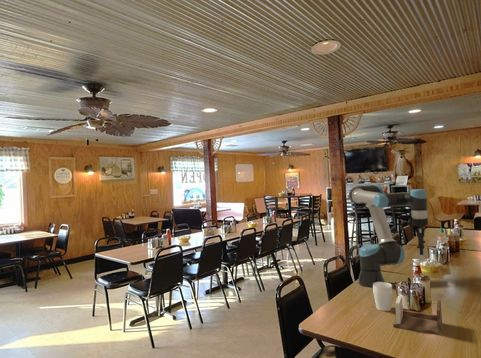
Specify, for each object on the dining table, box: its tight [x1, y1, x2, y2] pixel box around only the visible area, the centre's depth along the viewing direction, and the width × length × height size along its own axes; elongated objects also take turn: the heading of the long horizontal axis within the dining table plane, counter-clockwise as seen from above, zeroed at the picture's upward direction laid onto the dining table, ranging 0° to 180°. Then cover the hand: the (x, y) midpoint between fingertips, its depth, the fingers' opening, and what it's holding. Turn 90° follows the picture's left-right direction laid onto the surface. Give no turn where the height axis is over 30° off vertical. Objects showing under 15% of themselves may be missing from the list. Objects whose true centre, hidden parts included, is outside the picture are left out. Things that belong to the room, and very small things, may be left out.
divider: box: [394, 295, 404, 324], centre depth 147 cm, size 2×11×9 cm, turn 147°
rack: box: [392, 299, 443, 336], centre depth 143 cm, size 18×13×10 cm
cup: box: [372, 282, 393, 312], centre depth 163 cm, size 9×9×12 cm
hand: (421, 257), depth 174 cm, fingers open, 13 cm apart
